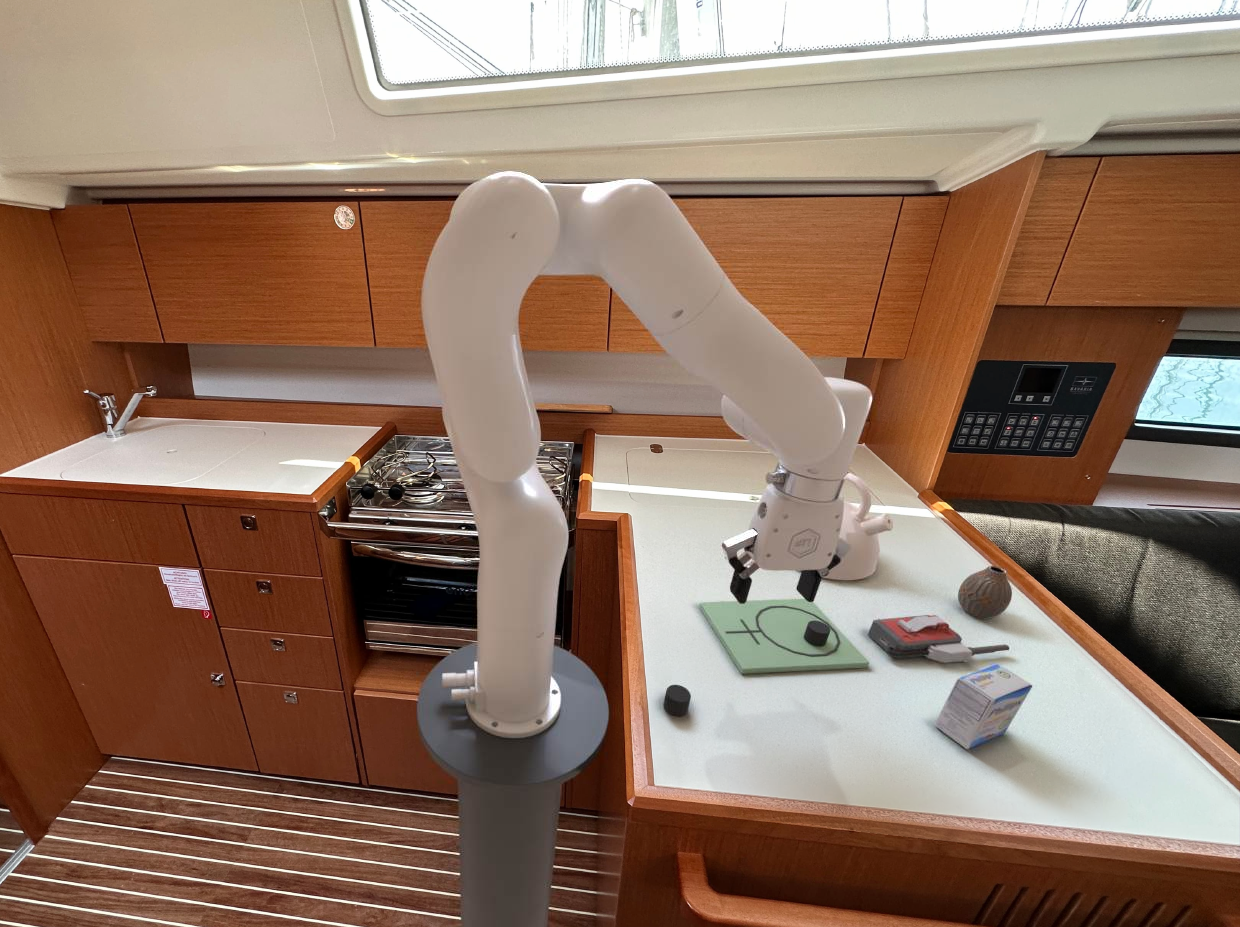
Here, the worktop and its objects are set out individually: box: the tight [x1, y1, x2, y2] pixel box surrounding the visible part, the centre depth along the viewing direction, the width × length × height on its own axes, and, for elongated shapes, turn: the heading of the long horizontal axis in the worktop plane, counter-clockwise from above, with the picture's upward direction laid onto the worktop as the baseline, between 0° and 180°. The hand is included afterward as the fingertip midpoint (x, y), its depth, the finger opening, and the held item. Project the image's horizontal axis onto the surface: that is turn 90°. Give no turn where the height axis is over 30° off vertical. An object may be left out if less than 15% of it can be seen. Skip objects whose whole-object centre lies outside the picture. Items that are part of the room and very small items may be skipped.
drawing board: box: [698, 598, 870, 675], centre depth 90 cm, size 20×16×1 cm
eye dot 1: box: [663, 684, 692, 717], centre depth 75 cm, size 3×3×3 cm
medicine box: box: [934, 663, 1033, 750], centre depth 72 cm, size 8×4×9 cm, turn 112°
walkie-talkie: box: [867, 614, 1010, 664], centre depth 88 cm, size 9×4×20 cm
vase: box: [957, 565, 1013, 619], centre depth 96 cm, size 7×7×9 cm
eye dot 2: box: [804, 621, 830, 647], centre depth 87 cm, size 3×3×3 cm
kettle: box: [798, 471, 894, 582], centre depth 109 cm, size 20×21×18 cm
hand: (771, 596), depth 76 cm, fingers open, 9 cm apart
